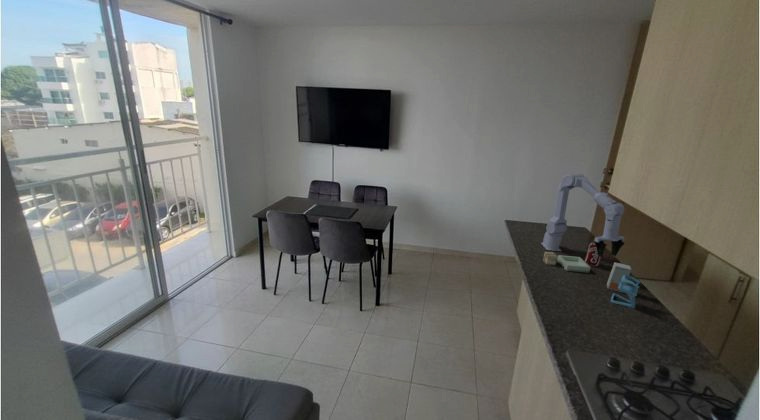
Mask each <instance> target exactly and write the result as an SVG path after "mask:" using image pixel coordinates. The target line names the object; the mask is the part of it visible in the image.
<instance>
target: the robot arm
mask: <svg viewBox="0 0 760 420" xmlns="http://www.w3.org/2000/svg"><path fill="white" fill-rule="evenodd" d="M574 188H582V189H583V190H584V191H586V192H587V193H588V194H589V195H591V196H592V197H593V198H594V199H593V201H594V202H595V203H596V204H597V205H599V206H600V207H601V208H602V209H603V211H604V214H605V221H604V228H603V233H602V235H601V236H596V237H594V240H593V241H594V243H595V245H596V248H597V253H598V256H601V257H602V258H603V256H604V253H605V250H604V249H606V247H607V246H608V244H607V243H605V242H611V249H610V250H611V251H610V252H611V255H612V256H615V257H616V256H617V255H618V253H619V251H620V249H621V248H622V247H623V246H624V245H625V238H626V237H625V236H621V235H620V236H619V231H620V230H619V229H620V224H621V221H622V220H621V218H622V215H624V214H625V212H626V208H625V206H624V204H622V203H621V202H617V201H616V200H614V199H613V198H611V197H610V196H609V193H607V192H603V191H602V192H601V191H600V190H599V189H597V188H596V187H595V185H593V183H591V182H590V180H589V179H588V177H587V176H585V175H584V174H583V173H579V174H578V173H576V174H569V173H568V174H565V175H564V176H562V177H561V181H560V182H559V184H558V187H557V192H556V199H555V203H554V204H555V205H554V209H553V216H552V217H551V218H550V219H549V220H548V223H547V224H546V232H545V233H544V236H543V241H542V242H540V243H541V245H542V246H543V247H544V248H545V250H547V251H550V252H554V251H555V252H562V249H561V248H560V245H561V241H562V238H563V235H564V233H566V232H567V230H568V225H567V224H568V223H567V219H566V218H565V216H566V211H567V205H568V200H569V199H568V198H569V194H570V191H571V190H572V189H574ZM603 252H604V253H603Z"/></svg>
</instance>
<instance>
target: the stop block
mask: <svg viewBox="0 0 760 420" xmlns="http://www.w3.org/2000/svg"><path fill="white" fill-rule="evenodd" d="M557 258H558V255H557V254H556V253H555V252H554V251H544V253H543V258H542V261H543V262H544V264H545V265H551V266H556V263H557Z"/></svg>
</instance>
